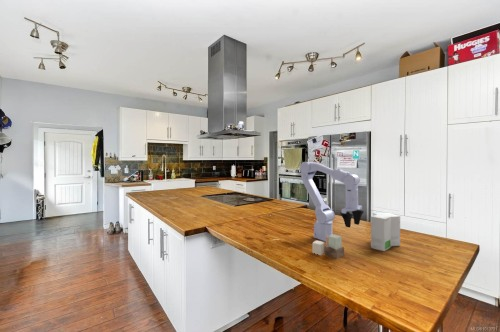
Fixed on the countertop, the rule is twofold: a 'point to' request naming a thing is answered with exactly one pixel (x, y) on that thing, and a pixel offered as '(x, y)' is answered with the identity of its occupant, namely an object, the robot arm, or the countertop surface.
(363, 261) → the countertop surface
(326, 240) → the terracotta cylinder
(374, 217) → the skincare box
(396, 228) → the supplement box
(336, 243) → the sage block
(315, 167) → the robot arm
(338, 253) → the walnut block
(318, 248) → the cream block
